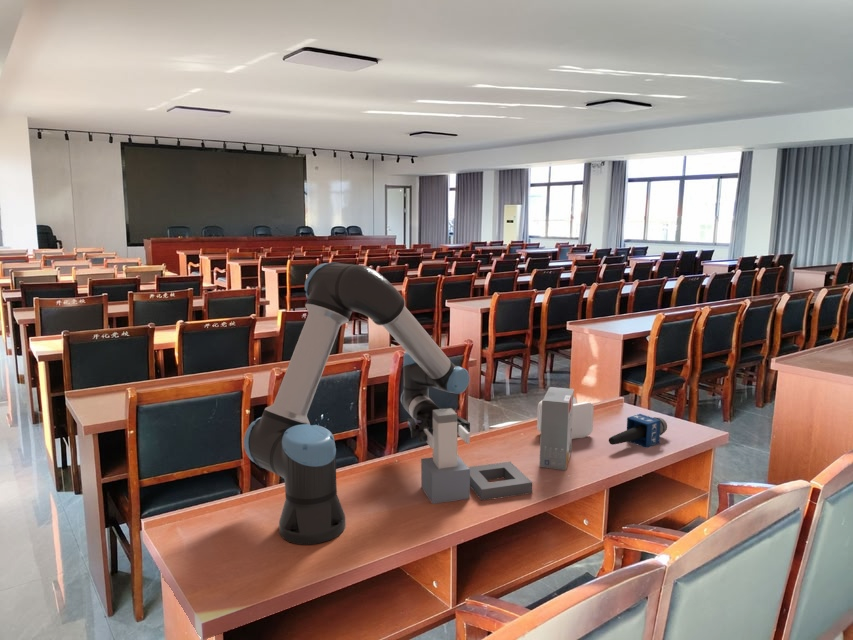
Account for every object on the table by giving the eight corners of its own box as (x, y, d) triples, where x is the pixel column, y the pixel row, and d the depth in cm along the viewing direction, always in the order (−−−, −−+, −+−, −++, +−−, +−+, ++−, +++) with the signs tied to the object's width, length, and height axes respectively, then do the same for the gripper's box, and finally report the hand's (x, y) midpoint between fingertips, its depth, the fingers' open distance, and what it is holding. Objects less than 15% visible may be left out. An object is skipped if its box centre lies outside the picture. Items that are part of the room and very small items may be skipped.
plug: (438, 468, 155) (438, 415, 153) (433, 461, 160) (432, 409, 157) (457, 466, 156) (457, 413, 154) (451, 458, 161) (450, 407, 159)
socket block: (481, 500, 155) (481, 489, 154) (463, 477, 168) (463, 467, 168) (532, 493, 159) (532, 482, 158) (510, 471, 172) (510, 461, 172)
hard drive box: (566, 471, 172) (568, 403, 168) (539, 468, 174) (540, 400, 171) (571, 451, 186) (574, 388, 183) (546, 448, 189) (548, 385, 185)
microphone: (601, 424, 186) (652, 409, 200) (600, 449, 188) (651, 432, 202) (622, 432, 180) (673, 416, 194) (621, 457, 182) (672, 439, 195)
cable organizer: (555, 444, 192) (556, 409, 190) (535, 433, 201) (536, 399, 199) (593, 436, 198) (594, 402, 196) (572, 426, 208) (573, 393, 206)
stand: (432, 504, 153) (432, 474, 152) (421, 487, 163) (421, 458, 161) (469, 498, 156) (469, 468, 155) (456, 482, 166) (456, 454, 164)
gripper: (460, 421, 177) (490, 449, 156) (388, 429, 171) (409, 460, 150) (460, 396, 176) (490, 421, 155) (388, 403, 170) (408, 430, 149)
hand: (450, 440), depth 152 cm, fingers open, 9 cm apart
